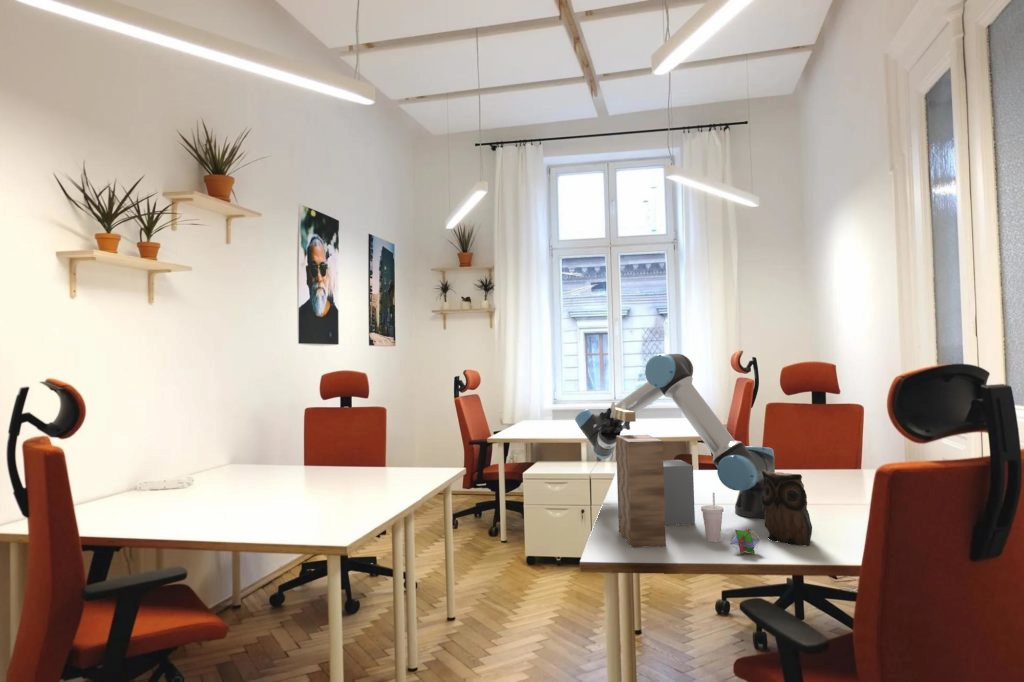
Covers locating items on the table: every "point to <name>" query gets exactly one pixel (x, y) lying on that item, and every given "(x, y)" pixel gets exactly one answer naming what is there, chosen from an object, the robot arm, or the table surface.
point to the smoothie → (712, 521)
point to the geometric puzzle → (746, 540)
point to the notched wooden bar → (624, 415)
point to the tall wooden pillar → (641, 490)
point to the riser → (678, 493)
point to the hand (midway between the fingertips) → (619, 405)
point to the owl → (786, 508)
